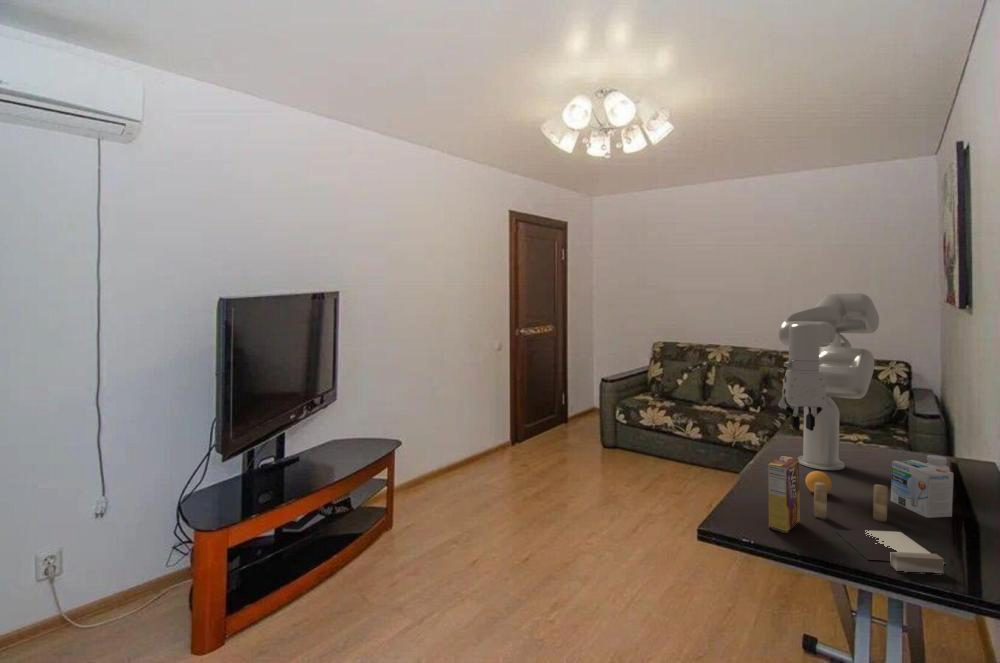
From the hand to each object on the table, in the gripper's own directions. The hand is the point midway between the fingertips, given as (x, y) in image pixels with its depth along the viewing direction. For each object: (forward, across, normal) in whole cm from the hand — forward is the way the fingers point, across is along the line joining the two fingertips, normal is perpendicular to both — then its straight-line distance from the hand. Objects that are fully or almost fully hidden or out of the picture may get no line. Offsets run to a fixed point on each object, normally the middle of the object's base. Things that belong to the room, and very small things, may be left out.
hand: (802, 428), depth 146 cm
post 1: (+15, -7, -26) cm, 31 cm away
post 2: (+15, +6, -26) cm, 31 cm away
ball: (+12, 0, -10) cm, 16 cm away
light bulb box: (+16, +20, -18) cm, 31 cm away
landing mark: (+15, 0, -40) cm, 43 cm away
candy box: (+15, -17, -32) cm, 39 cm away
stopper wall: (+15, 0, -50) cm, 52 cm away
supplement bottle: (+15, +31, -6) cm, 35 cm away
